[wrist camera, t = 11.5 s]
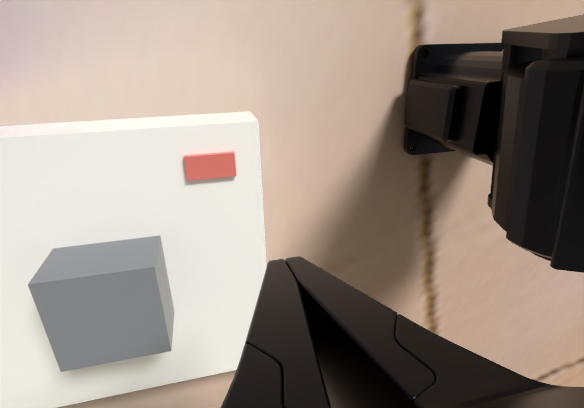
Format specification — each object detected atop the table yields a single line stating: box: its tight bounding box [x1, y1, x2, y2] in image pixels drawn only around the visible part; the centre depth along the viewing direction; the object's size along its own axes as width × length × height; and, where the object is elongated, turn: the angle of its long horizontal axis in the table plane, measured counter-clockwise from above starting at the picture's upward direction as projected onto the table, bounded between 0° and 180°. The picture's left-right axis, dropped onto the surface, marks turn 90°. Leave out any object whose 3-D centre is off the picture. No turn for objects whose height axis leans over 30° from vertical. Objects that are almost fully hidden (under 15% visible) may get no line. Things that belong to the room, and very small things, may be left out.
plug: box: [28, 235, 174, 372], centre depth 19 cm, size 5×5×6 cm
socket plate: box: [0, 111, 267, 408], centre depth 20 cm, size 16×16×3 cm
